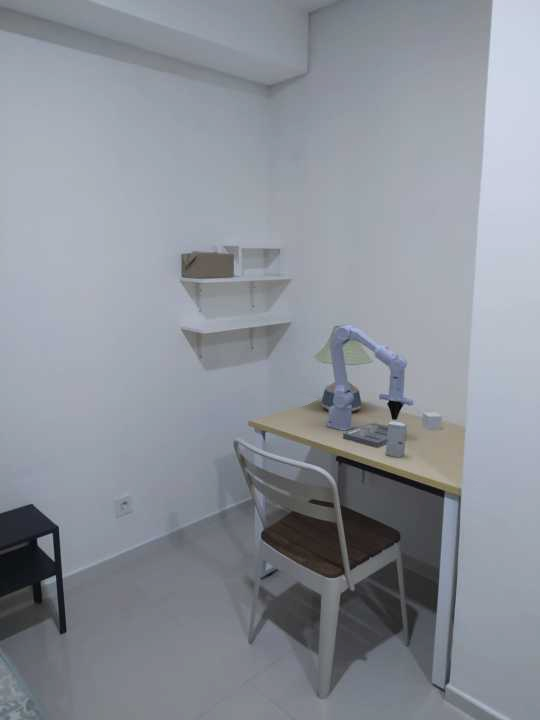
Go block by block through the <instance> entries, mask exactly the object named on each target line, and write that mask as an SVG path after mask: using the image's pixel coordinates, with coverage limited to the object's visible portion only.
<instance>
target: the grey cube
mask: <svg viewBox="0 0 540 720" xmlns="http://www.w3.org/2000/svg"><path fill="white" fill-rule="evenodd" d="M442 421H443V416H442V415H440V414H439V413H438V412H422V422H421V426H422V427H423V428H424V429H426V430H427V431H434V430H435V431H439V430H442V424H443V423H442Z"/></svg>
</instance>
